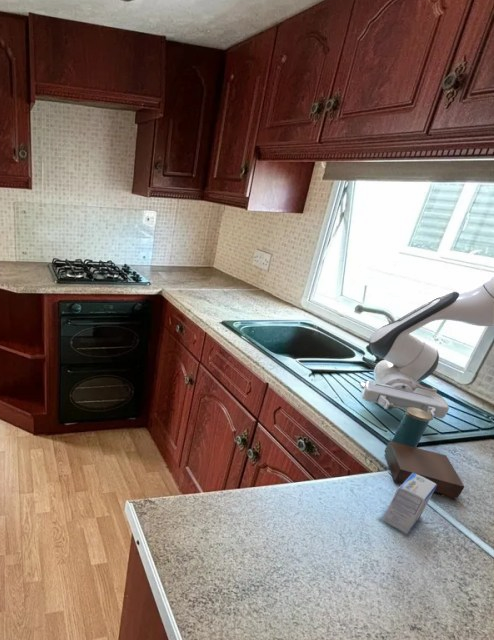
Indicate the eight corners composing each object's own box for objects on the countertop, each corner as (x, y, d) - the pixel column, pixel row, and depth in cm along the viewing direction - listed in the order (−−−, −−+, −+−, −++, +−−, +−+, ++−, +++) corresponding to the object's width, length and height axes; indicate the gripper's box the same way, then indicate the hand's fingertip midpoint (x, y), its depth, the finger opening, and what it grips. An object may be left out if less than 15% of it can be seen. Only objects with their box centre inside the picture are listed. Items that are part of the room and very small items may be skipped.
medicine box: (406, 535, 76) (425, 500, 73) (381, 520, 79) (398, 486, 76) (419, 517, 81) (438, 484, 77) (395, 503, 84) (412, 471, 80)
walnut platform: (438, 468, 97) (446, 455, 95) (456, 501, 87) (464, 486, 85) (383, 453, 100) (389, 440, 99) (393, 483, 90) (400, 469, 88)
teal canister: (412, 443, 106) (428, 410, 102) (417, 454, 102) (434, 421, 97) (389, 437, 108) (404, 405, 103) (393, 448, 103) (409, 415, 99)
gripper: (362, 371, 119) (370, 391, 107) (442, 389, 113) (460, 412, 102) (354, 390, 122) (361, 411, 110) (432, 408, 116) (448, 433, 104)
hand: (409, 412), depth 106 cm, fingers open, 8 cm apart
